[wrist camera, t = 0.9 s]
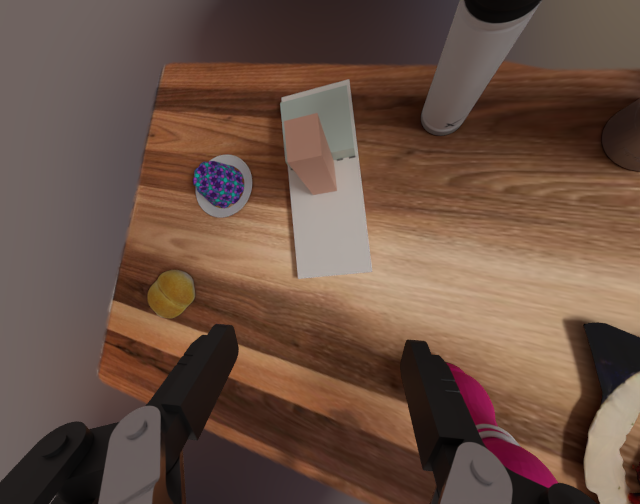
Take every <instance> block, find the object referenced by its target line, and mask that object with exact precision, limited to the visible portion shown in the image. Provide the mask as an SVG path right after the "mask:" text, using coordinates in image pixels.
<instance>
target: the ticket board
mask: <svg viewBox="0 0 640 504" xmlns="http://www.w3.org/2000/svg"><path fill="white" fill-rule="evenodd" d="M280 107H281V118H282V129H283V140H284V151H285V162H286V163H287V165H288V174H289V185H290V196H291V207H292V218H293V229H294V239H295V250H296V261H297V272H298V279H302V278H312V277H323V276H333V275H344V274H354V273H365V272H372V265H371V257H370V249H369V240H368V232H367V224H366V215H365V207H364V199H363V190H362V182H361V173H360V165H359V157H358V148H357V140H356V132H355V123H354V115H353V107H352V98H351V90H350V82H349V79H348V80H344V81H341V82H337V83H333V84H330V85H326V86H322V87H319V88H315V89H311V90H308V91H304V92H300V93H297V94H293V95H289V96H286V97H282V103H280ZM315 113H318V116H319V119H320V122H321V125H322V128H323V131H324V134H325V137H326V140H327V143H328V146H329V148H330V151H331V154H332V157H333V160H334V167H335V176H336V185H337V191H334V192H328V193H322V194H316V195H313V194H312V193H311V192H310V190H309V189H308V188H307V187H306V185H305V184H304V183H303V181H302V180H301V179H300V178H299V176H298V175H297V174H296V173H295V171H294V170H293V169H292V168H291V166H290V165H289V164H288V161H287V150H286V139H285V128H284V121H287V120H291V119H295V118H299V117H303V116H307V115H311V114H315Z"/></svg>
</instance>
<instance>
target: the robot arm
mask: <svg viewBox="0 0 640 504" xmlns="http://www.w3.org/2000/svg"><path fill="white" fill-rule="evenodd" d="M602 145H603V148H604V151H605V152H606V154H607V155H608V157H609V158H610V159H611V160H612V161H613V162H615V163H616V164H618V165H620V166H621V167H624V168H627V169H629V170H634V171H640V99H638V100H637V101H635V102H633V103H632V104H630V105H629V106H627V107H625V108H624V109H622V110H620V111H619V112H617V113H616V114H615V115H614V116H613V117H611V119H610V120H609V121H608V122H607V124H606V126H605V128H604V130H603V134H602ZM238 350H239V348H238V343H237V339H236V335H235V330H234V327H233V326H232V325H224V324H215V325H214V326H213V327H212V329H211V330H210V332H209V333H208V335H202V336H200V337H199V338H198V339H197V340H195V341H194V342H193V343H192V344H191V345H190V346H189V348H188V349H187V351H186V352H185V353H184V356H182V357H181V359H180V360H179V362H178V363H177V365H176V366H175V367H174V368H173V370H172V371H171V372H170V374H169V375H168V377H167V378H166V379H165V381H164V382H163V383H162V385H161V386H160V388H159V389H158V390H157V392H156V393H155V394H154V396H153V397H152V399H151V400H150V401H149V402H148V404H147V405H146V406H144V407H141V408H139V409H136V410H134V411H133V412H131V413H130V414H128V415H127V416H126V417H125V418H123V419H122V420H121V421H120V422H117V423H113V424H109V425H105V426H101V427H97V428H93V429H88V428H87V427H86V426H85V424H84V423H82V422H71V423H67V424H65V425H63V426H60V427H58V428H57V429H55V430H53V431H52V432H50V433H49V434H47V435H46V436H45V437H44V438H42V439H41V440H40V441H39V442H38V443H37V444H36V445H35V446H34V447H33V448H32V449H31V450H30V451H29V452H28V453H27V454H26V456H24V458H23V459H22V460H21V461H20V462H19V463H18V464H17V465H16V466H15V467H14V468H13V469H12V470H11V471H10V472H9V473H8V475H7V476H6V477H5V478H4V479H3V480H2V481H1V482H0V504H49V503H50V502H51V500H52V499H53V498H54V496H55V495H56V497H55V498H54V500H53V501H52V502H51V504H186V496H185V479H184V466H183V465H184V463H183V451H182V449H183V447H184V445H185V443H186V441H187V439H191V440H198V439H199V437H200V435H201V433H202V431H203V429H204V426H205V424H206V422H207V420H208V418H209V416H210V414H211V412H212V410H213V408H214V406H215V404H216V401H217V399H218V397H219V395H220V393H221V391H222V389H223V387H224V385H225V383H226V381H227V378H228V376H229V374H230V372H231V370H232V368H233V366H234V364H235V362H236V359H237V356H238ZM400 370H401V377H402V382H403V386H404V390H405V395H406V399H407V403H408V408H409V412H410V416H411V421H412V425H413V429H414V434H415V438H416V442H417V447H418V451H419V455H420V460H421V464H422V468H423V470H426V471H433V474H434V477H435V481H436V486H435V489H434V492H433V495H432V498H431V500H430V503H429V504H597V503H595V502H594V501H593V500H592V499H591V498H590V497H588V496H587V495H586V494H584V493H583V492H581V491H580V490H578V489H576V488H574V487H572V486H570V485H567V484H564V483H555V484H553V485H551V486H550V487H549V488H547V487H545V486H543V485H541V484H539V483H536V482H534V481H532V480H530V479H528V478H526V477H524V476H521V475H519V474H517V473H515V472H513V471H511V470H510V469H508V468H507V467H505V466H504V465H503V464H502V463H501V462H500V461H499V459H498V458H497V457H496V456H495V455H494V454H493V453H492V452H490V451H489V450H488V449H487V447H486V446H485V444H484V443H483V441H482V439H481V437H480V435H479V432H478V430H477V428H476V426H475V423H474V421H473V419H472V417H471V414H470V412H469V410H468V408H467V406H466V403H465V401H464V399H463V397H462V394H460V390H459V388H458V385H457V383H456V382H455V379H454V376H453V374H452V372H451V370H450V367H449V366H448V365H447V364H446V363H445V361H444V360H443V359H442V358H441V357H440V356H439V355H431V352H430V349H429V347H428V344H427V343H426V341H419V340H406V343H405V347H404V351H403V355H402V359H401V364H400Z"/></svg>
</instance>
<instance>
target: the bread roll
mask: <svg viewBox="0 0 640 504" xmlns="http://www.w3.org/2000/svg"><path fill="white" fill-rule="evenodd" d="M194 298H195V288H194V282H193V279H192V277H191V276H190V275H189V274H187V273H186V272H183V271H180V270H169V271H166V272H164V273H162V274H161V275H160V276H159V278H158V279H157V281H156V282H155V283H154V284H153V285H152V286H151V287H150V289H149V291H148V303H149V305H150V307H151V308H152V309H153V311H155V312H156V314H157V315H159V316H160V317H165V318H174V317H176V316H178V315H180V314H181V313H182V312H183V311H184V310H185V309H186V307H187V306H188V305H190V304H191V303H192V301H193V300H194Z"/></svg>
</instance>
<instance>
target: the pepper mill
mask: <svg viewBox="0 0 640 504" xmlns="http://www.w3.org/2000/svg"><path fill="white" fill-rule="evenodd" d="M446 364H447V365H448V366H449V367H450V370H451V372H452V374H453V376H454V379H455V382H456V383H457V385H458V388H459V390H460V394H462V397H463V399H464V401H465V403H466V406H467V408H468V410H469V412H470V414H471V417H472V419H473V421H474V423H475V426H476V428H477V430H478V432H479V435H480V437H481V439H482V441H483V443H484V444H485V446H486V447H487V449H488V450H489V451H490V452H492V453H493V454H494V455H495V456H496V457H497V458H498V459H499V461H500V462H501V463H502V464H503V465H504V466H505V467H507V468H508V469H510V470H511V471H513V472H515V473H517V474H519V475H521V476H524V477H526V478H528V479H530V480H532V481H534V482H536V483H539V484H541V485H543V486H545V487H547V488H549V487H550V486H551V485H553V484H555V483H558V482H557V480H556V479H555V477H554V476H553V475H552V473H551V472H550V471H549V469H548V468H547V467H546V466H545V465H544V464H543V463H542V462H541V461H540V460H539V459H538V458H537V457H536V456H534V455H533V454H531V453H530V452H528V451H527V450H525V449H524V448H522V447H521V446H520V445H519V444H518V443H517V442H516V440H515V439H514V438H513V437H512V436H511V435H510V434H509V433H508V432H506V431H505V430H503V429H502V428H500V427H498V426H497V423H496V420H495V412H494V407H493V405H492V402H491V400H490V398H489V396H488V394H487V393H486V391H485V390H484V388H483V387H482V386H481V385H480V384H479V383H478V382H477V381H476V380H475V379H474V378H472V377H471V376H469V375H467V374H465V373H464V372H463V371H462V370H461V369H460V368H459V367H457V366H455V365H453V364H450V363H446Z"/></svg>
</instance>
